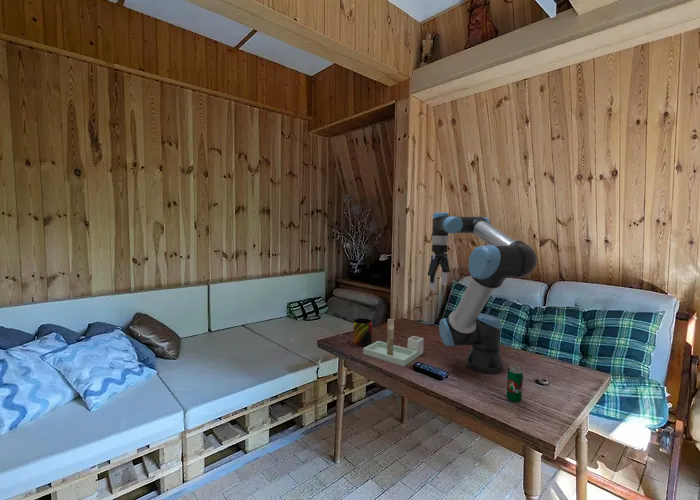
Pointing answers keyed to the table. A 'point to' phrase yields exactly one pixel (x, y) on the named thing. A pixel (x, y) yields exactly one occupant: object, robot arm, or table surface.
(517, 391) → the soda can
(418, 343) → the cup
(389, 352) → the dowel
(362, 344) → the mug
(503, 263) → the robot arm
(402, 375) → the table surface
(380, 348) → the tray
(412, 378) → the table surface
